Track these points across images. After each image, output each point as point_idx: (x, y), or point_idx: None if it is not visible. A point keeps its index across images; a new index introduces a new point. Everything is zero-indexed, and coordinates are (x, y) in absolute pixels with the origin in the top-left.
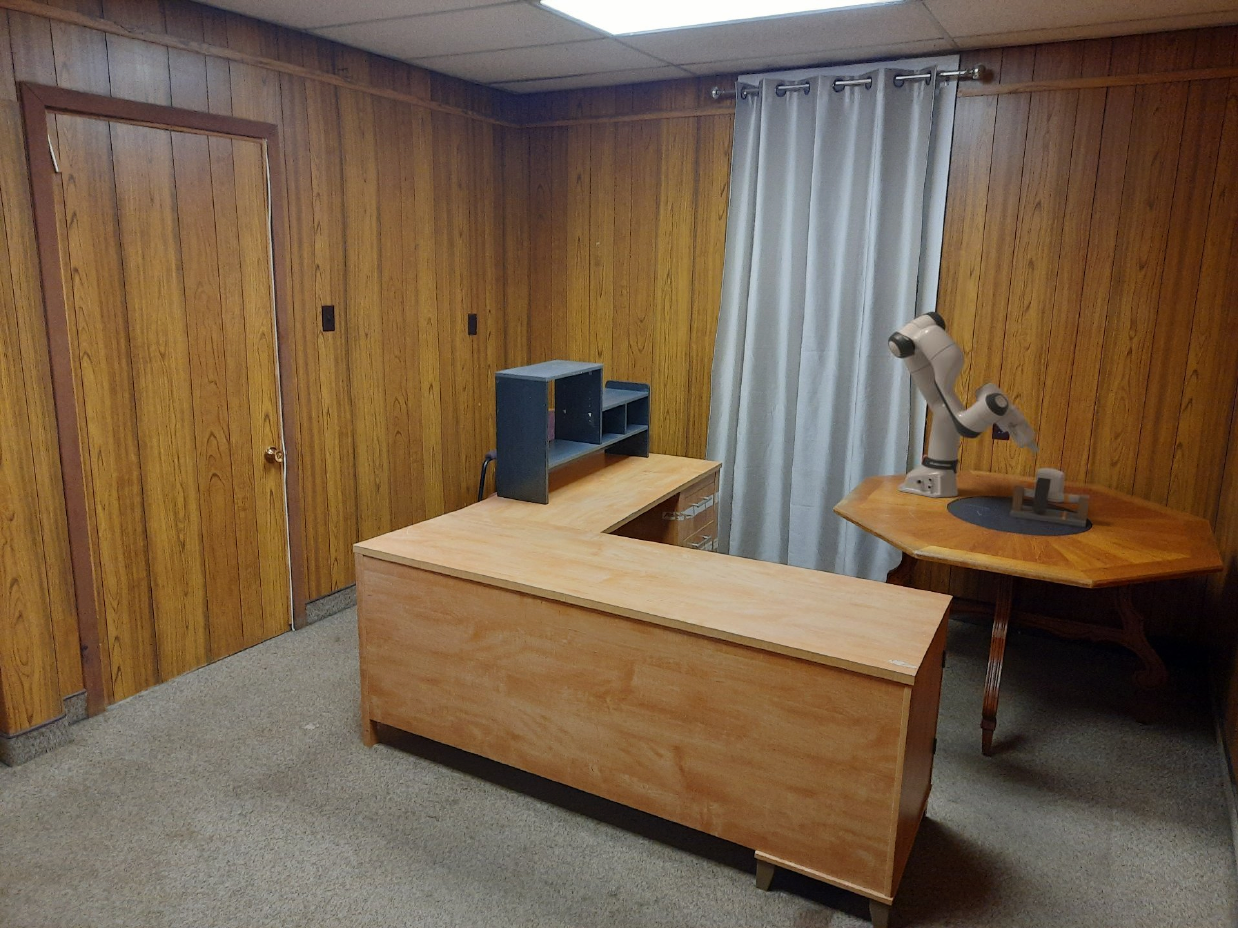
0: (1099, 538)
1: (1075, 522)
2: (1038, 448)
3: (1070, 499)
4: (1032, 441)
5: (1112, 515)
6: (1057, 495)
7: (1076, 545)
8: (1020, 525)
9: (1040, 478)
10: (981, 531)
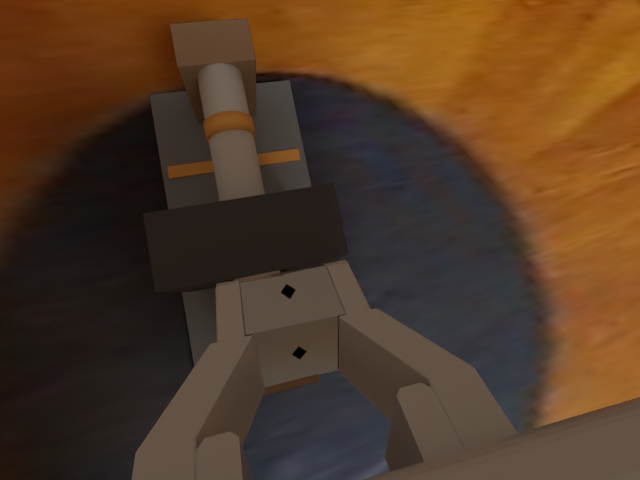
0: (392, 34)
1: (295, 114)
2: (275, 286)
3: (248, 111)
4: (245, 460)
5: (21, 28)
6: (256, 166)
7: (514, 79)
8: (435, 271)
9: (179, 272)
10: (597, 349)
